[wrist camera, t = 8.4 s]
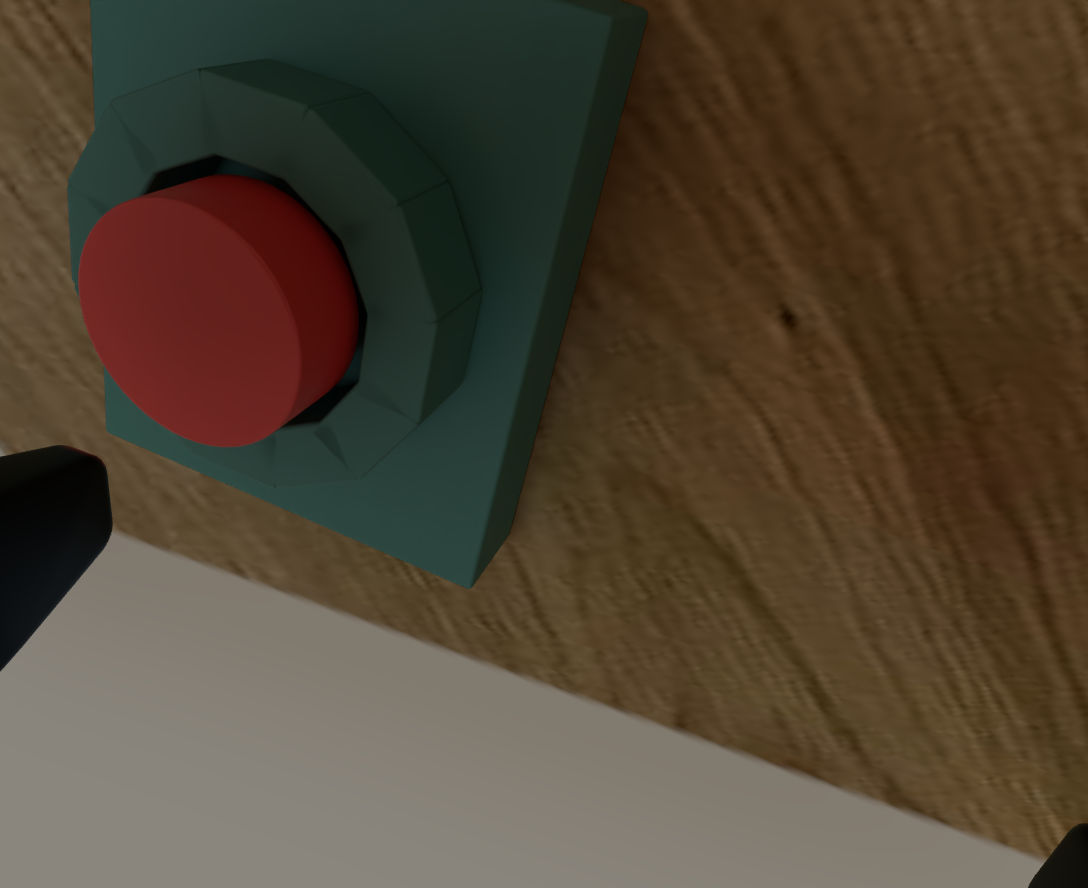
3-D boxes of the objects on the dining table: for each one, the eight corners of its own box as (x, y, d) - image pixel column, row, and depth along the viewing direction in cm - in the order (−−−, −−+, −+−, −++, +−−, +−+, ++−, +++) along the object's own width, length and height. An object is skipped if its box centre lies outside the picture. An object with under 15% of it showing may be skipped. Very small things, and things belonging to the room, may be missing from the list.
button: (346, 436, 16) (289, 484, 14) (155, 357, 16) (82, 396, 15) (375, 220, 14) (312, 250, 12) (154, 140, 14) (70, 160, 13)
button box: (509, 535, 20) (432, 647, 17) (171, 393, 22) (39, 471, 18) (650, 9, 14) (574, 22, 11) (175, -133, 16) (-15, -159, 13)
